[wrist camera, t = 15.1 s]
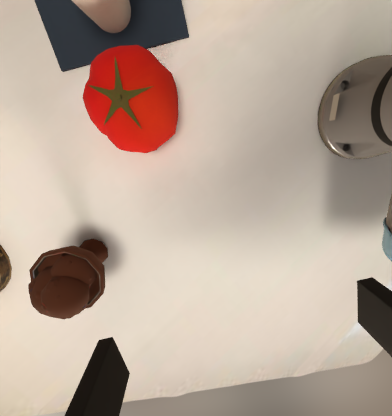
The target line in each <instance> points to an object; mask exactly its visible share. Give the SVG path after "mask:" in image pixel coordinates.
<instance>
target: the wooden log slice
mask: <svg viewBox="0 0 392 416" xmlns="http://www.w3.org/2000/svg"><path fill="white" fill-rule="evenodd" d="M10 277H11V265H10V261H9V257H8V256H7V254H6V253H5V251H4V250H3V248H2V246H1V245H0V291H1V290H2V289H4V288H5V287H6V285H7V283H8V282H9V280H10Z"/></svg>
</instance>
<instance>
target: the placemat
mask: <svg viewBox="0 0 392 416" xmlns="http://www.w3.org/2000/svg"><path fill="white" fill-rule="evenodd" d="M129 2H130V7H131V17H130V21H129V23H128V25H127V27H126V28H125V29H124V30H122V31H121V32H118V33H109V32H106V31H104V30H103V29H101V28H100V27H99V26H98V25H97V24H96V23H95V22H94V21H93V20H92V19H91V18H90V17H88V16H87V15H86V14H85V13H84V12H83V11H82V10H81V9H80V8H79V7H78V6H77V5H76V4H75V3H74V2H73V1H72V0H35V3H36V5H37V8H38V11H39V13H40V16H41V18H42V21H43V24H44V26H45V29H46V32H47V34H48V37H49V39H50V42H51V45H52V47H53V50H54V52H55V55H56V58H57V60H58V63H59V66H60V68H61V71H63V72H64V71H67V70H71V69H75V68H78V67H82V66H86V65H89V64H91V62H92V61H93V60H94V59H95V57H96V56H97V55H99V54H100V53H102V52H103V51H105V50H107V49H109V48H113V47H117V46H125V45H139V46H141V47H143V48H145V49H147V48H151V47H155V46H158V45H162V44H166V43H169V42H173V41H176V40H180V39H184V38H187V37H189V34H188V29H187V25H186V20H185V15H184V11H183V6H182V1H181V0H129Z"/></svg>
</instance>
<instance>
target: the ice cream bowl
mask: <svg viewBox="0 0 392 416" xmlns="http://www.w3.org/2000/svg"><path fill="white" fill-rule="evenodd" d="M107 257H108V249H107V247H106V246H105V245H104V244H103V242H101V241H98V240H95V239H90V240H86V241H84V242H83V243H82V245H81V246H80V247H76V246H69V247H64V248H60V249H55V250H51V251H48V252H45V253H43V254H41V256H40V257H39V258H38V260H37V261H36V262H35V264H34V265H33V266H32V267H31V269H30V277H31V283H30V284H29V294H30V298H31V303H32V305H33V307H34V308H35V309H36V310H37V311H38V312H39V313H41V314H44V315H47V316H50V317H54V318H60V319H66V318H71V317H73V316H74V315H76V314H79V313H80V312H81V311H82V310H84V309H85V308H89V307H92V305H93V304H94V303H95V302H96V301H97V300H98V299H99V298H100V296H101V295H102V294H103V293H104V289H105V269H104V265H103V264H102V263H103V262H104V260H105V259H106V258H107Z"/></svg>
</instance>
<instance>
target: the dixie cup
mask: <svg viewBox="0 0 392 416" xmlns="http://www.w3.org/2000/svg"><path fill="white" fill-rule="evenodd" d="M72 1H73V2H74V3H75V4H76V5H77V6H78V7H79V8H80V9H81V10H82V11H83V12H84V13H85V14H86V15H87V16H88V17H90V18H91V19H92V20H93V21H94V22H95V23H96V24H97V25H98V26H99V27H100V28H101V29H103V30H104V31H106V32H109V33H118V32H121V31H122V30H124V29H125V28H126V27H127V25H128V23H129V21H130V17H131V7H130V2H129V0H72Z"/></svg>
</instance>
